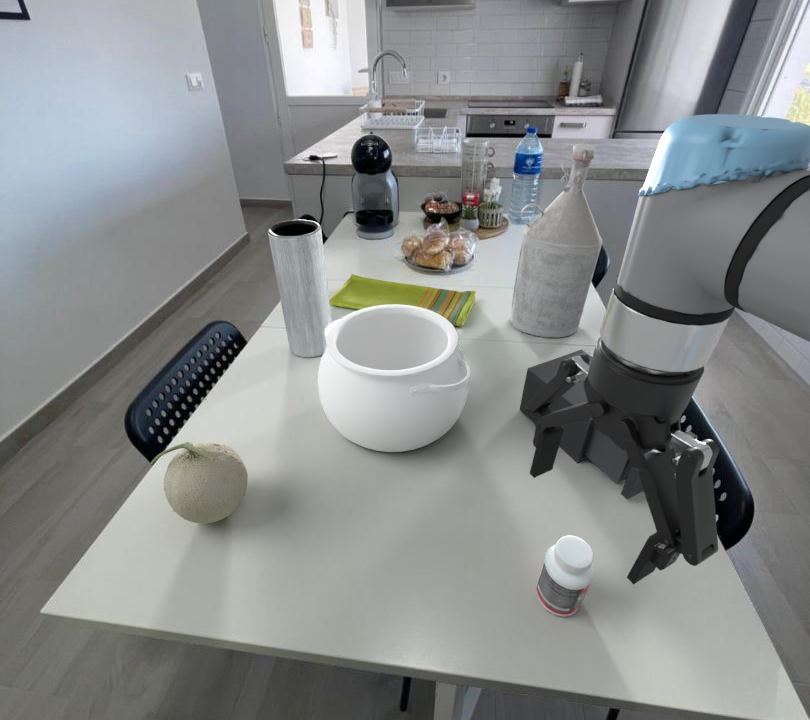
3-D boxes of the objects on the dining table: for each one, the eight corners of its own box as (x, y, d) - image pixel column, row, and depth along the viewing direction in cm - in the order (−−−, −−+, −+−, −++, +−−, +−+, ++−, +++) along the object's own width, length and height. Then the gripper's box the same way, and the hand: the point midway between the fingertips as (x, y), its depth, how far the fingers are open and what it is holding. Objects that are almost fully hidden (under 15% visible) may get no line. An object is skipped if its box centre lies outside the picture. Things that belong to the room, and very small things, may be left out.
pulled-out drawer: (709, 495, 66) (731, 459, 61) (656, 526, 62) (675, 490, 57) (610, 418, 79) (622, 384, 75) (561, 440, 75) (571, 405, 71)
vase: (299, 363, 95) (278, 241, 80) (283, 342, 102) (260, 225, 86) (342, 349, 100) (329, 230, 84) (323, 329, 106) (308, 216, 91)
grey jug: (505, 309, 114) (529, 137, 91) (576, 314, 111) (619, 139, 88) (505, 335, 104) (532, 150, 81) (583, 342, 101) (633, 152, 78)
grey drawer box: (631, 437, 77) (649, 394, 71) (577, 463, 72) (591, 419, 67) (570, 389, 88) (581, 349, 82) (519, 409, 83) (527, 368, 77)
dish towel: (463, 329, 106) (464, 318, 104) (327, 307, 115) (326, 296, 114) (476, 300, 118) (477, 289, 116) (352, 282, 127) (351, 271, 125)
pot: (288, 417, 82) (272, 342, 72) (380, 351, 99) (377, 284, 89) (414, 494, 68) (414, 414, 58) (496, 402, 85) (507, 328, 75)
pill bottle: (581, 623, 52) (601, 580, 47) (534, 611, 54) (548, 566, 48) (579, 580, 57) (598, 535, 51) (536, 569, 58) (549, 524, 52)
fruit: (186, 481, 70) (154, 410, 61) (260, 477, 71) (239, 405, 62) (161, 542, 61) (120, 469, 53) (246, 536, 62) (219, 463, 53)
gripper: (876, 438, 26) (725, 611, 39) (569, 275, 44) (533, 429, 57) (804, 486, 23) (666, 656, 36) (508, 291, 41) (485, 449, 54)
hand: (585, 517), depth 46 cm, fingers open, 13 cm apart
